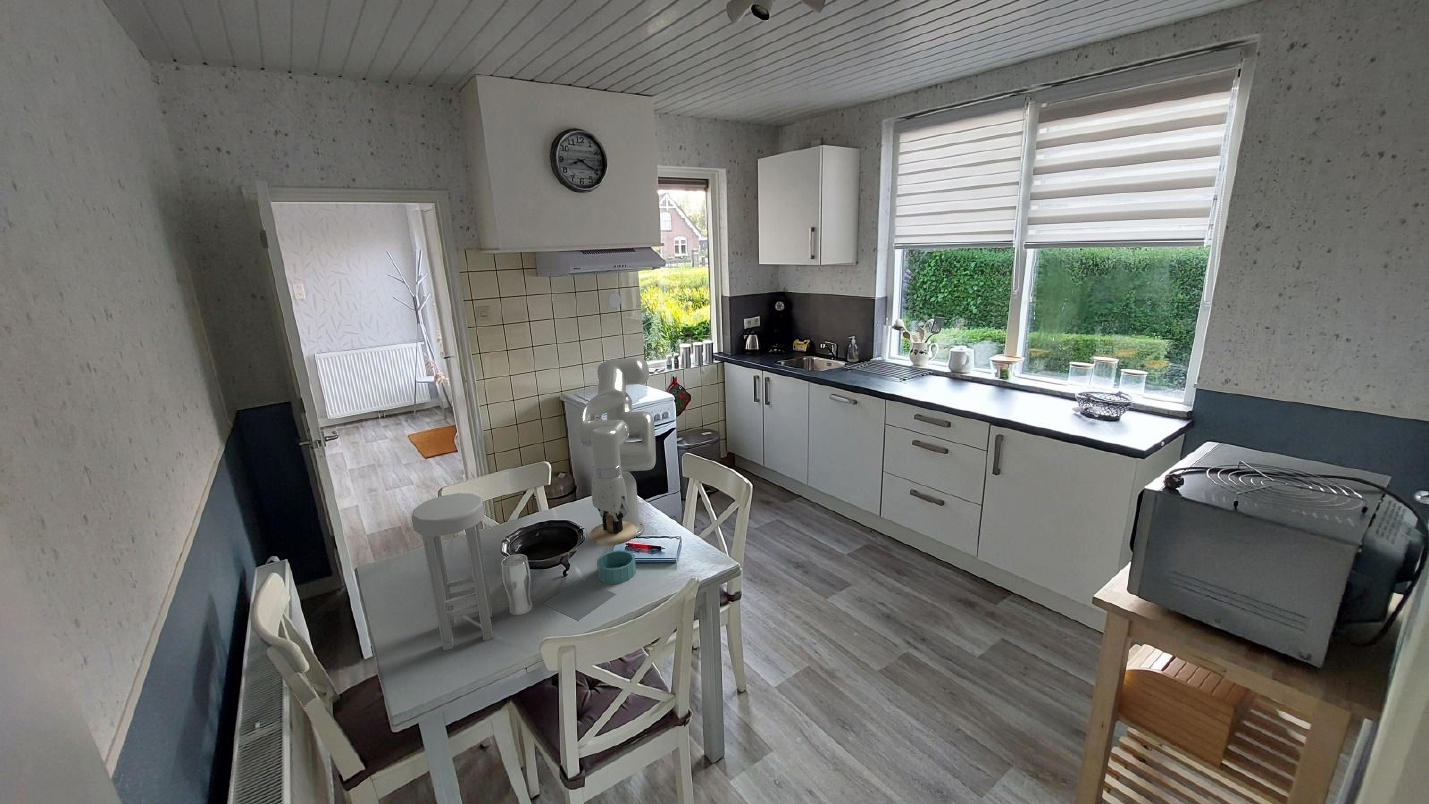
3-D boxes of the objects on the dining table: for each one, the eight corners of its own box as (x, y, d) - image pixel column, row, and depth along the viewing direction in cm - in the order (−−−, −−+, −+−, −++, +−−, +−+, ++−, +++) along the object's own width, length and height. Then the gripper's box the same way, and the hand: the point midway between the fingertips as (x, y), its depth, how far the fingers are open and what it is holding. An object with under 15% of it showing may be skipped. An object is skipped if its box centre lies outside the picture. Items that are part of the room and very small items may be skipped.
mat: (543, 605, 158) (543, 603, 158) (581, 581, 169) (581, 579, 169) (578, 622, 150) (578, 620, 150) (616, 596, 161) (616, 594, 161)
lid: (581, 538, 167) (579, 518, 165) (613, 521, 177) (611, 502, 175) (613, 550, 159) (612, 529, 158) (645, 531, 170) (644, 511, 168)
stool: (501, 641, 144) (481, 512, 135) (433, 658, 139) (407, 525, 130) (500, 607, 158) (482, 488, 149) (438, 621, 153) (415, 499, 144)
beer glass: (527, 599, 161) (520, 550, 158) (539, 609, 157) (532, 559, 153) (503, 610, 157) (495, 560, 153) (515, 621, 152) (507, 570, 148)
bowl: (590, 578, 171) (589, 563, 169) (617, 561, 179) (615, 546, 178) (617, 589, 164) (616, 573, 163) (643, 571, 173) (642, 556, 172)
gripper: (577, 469, 165) (583, 528, 170) (619, 480, 156) (625, 542, 160) (596, 461, 171) (602, 519, 175) (638, 471, 162) (643, 532, 166)
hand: (613, 529), depth 168 cm, fingers closed on lid, 3 cm apart
